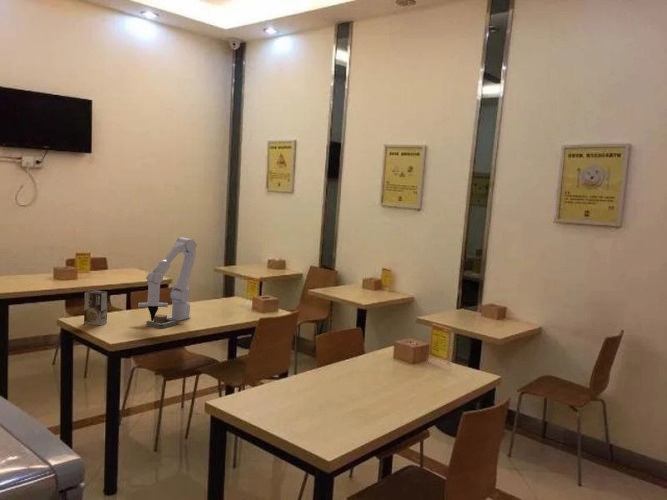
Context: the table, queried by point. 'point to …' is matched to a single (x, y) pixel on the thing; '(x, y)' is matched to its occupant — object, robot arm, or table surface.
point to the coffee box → (95, 307)
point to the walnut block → (160, 318)
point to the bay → (169, 323)
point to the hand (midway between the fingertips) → (152, 320)
